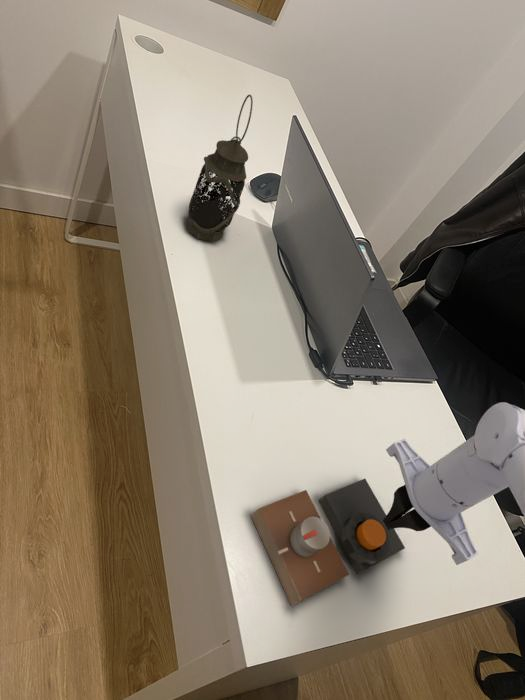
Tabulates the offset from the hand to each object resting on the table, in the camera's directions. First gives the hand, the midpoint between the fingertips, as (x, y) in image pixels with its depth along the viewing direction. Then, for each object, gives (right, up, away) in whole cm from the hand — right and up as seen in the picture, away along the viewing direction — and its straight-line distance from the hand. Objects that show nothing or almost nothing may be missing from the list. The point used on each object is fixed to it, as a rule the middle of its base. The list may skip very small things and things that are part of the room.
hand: (390, 522), depth 63 cm
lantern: (-28, +46, +37) cm, 66 cm away
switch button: (-2, -3, +4) cm, 6 cm away
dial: (-11, -3, +1) cm, 11 cm away
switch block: (-3, -4, +9) cm, 10 cm away
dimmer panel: (-12, -5, +3) cm, 13 cm away
